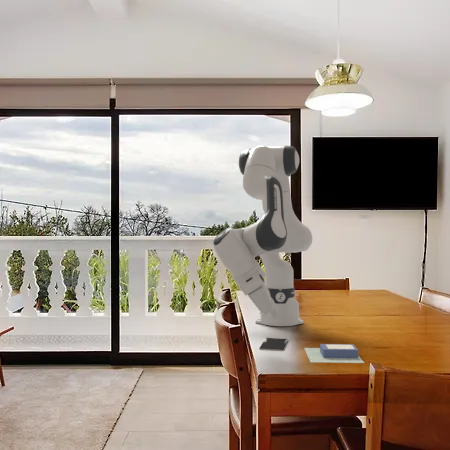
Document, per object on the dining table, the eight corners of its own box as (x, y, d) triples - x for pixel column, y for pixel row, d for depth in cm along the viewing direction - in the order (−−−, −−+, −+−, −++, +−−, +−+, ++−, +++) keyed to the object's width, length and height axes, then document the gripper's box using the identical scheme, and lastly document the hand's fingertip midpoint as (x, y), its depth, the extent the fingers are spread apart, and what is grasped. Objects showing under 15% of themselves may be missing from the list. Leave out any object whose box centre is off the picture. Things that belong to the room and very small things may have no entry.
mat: (303, 349, 154) (303, 347, 154) (352, 349, 153) (352, 348, 153) (310, 363, 138) (310, 362, 138) (364, 364, 137) (364, 362, 137)
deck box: (320, 343, 149) (353, 344, 149) (320, 351, 149) (353, 352, 149) (323, 349, 143) (358, 349, 142) (323, 357, 143) (358, 358, 142)
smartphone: (259, 348, 152) (265, 337, 167) (259, 352, 152) (265, 341, 167) (283, 350, 150) (288, 338, 165) (283, 354, 150) (288, 342, 165)
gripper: (241, 275, 158) (264, 310, 159) (242, 292, 137) (269, 332, 139) (257, 265, 157) (281, 300, 158) (261, 280, 137) (288, 320, 138)
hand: (275, 315), depth 148 cm, fingers closed
